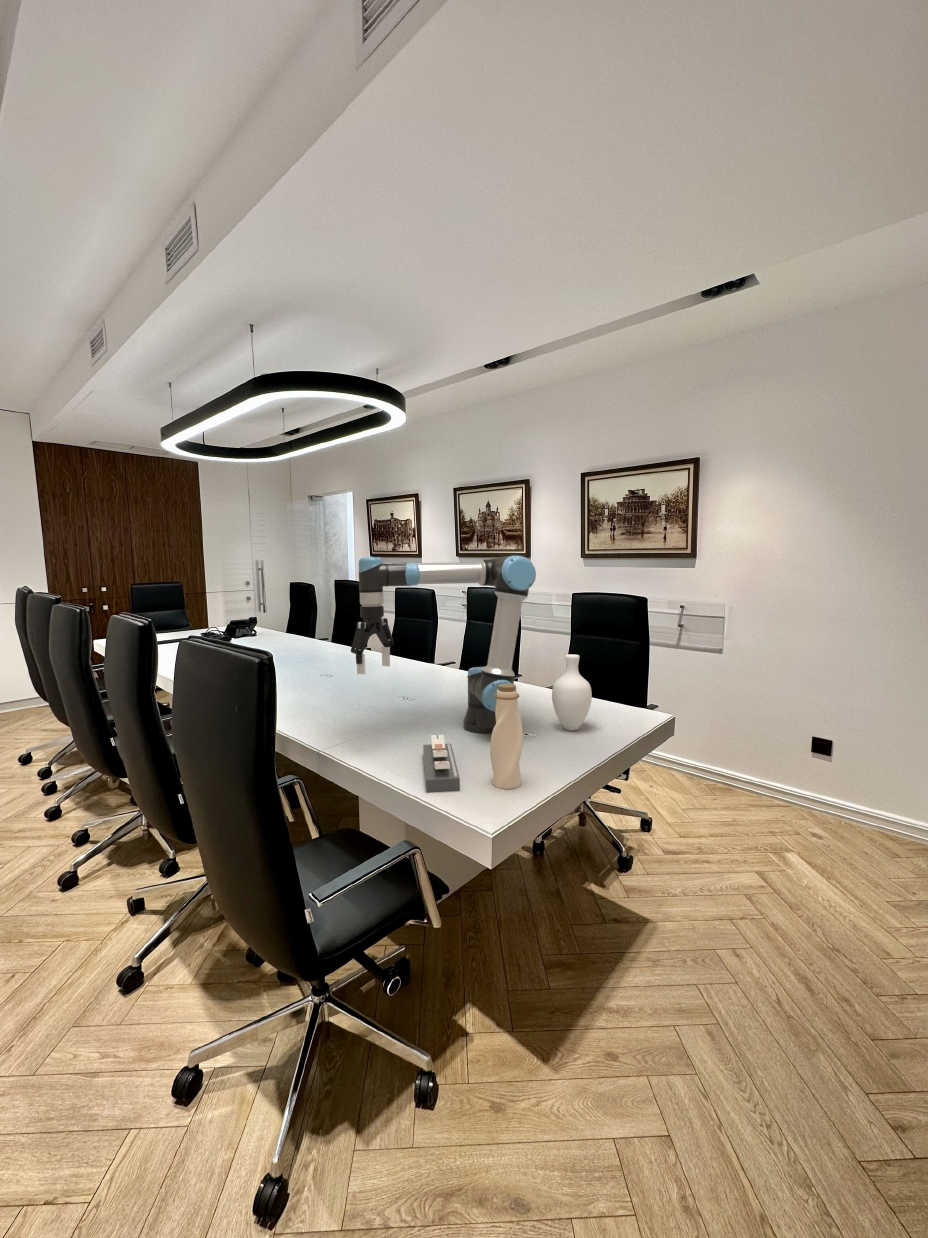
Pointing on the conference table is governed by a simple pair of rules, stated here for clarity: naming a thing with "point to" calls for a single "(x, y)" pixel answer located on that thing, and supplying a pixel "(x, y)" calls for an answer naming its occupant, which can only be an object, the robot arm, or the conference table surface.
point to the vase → (571, 695)
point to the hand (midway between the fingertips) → (374, 670)
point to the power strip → (440, 771)
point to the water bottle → (506, 739)
